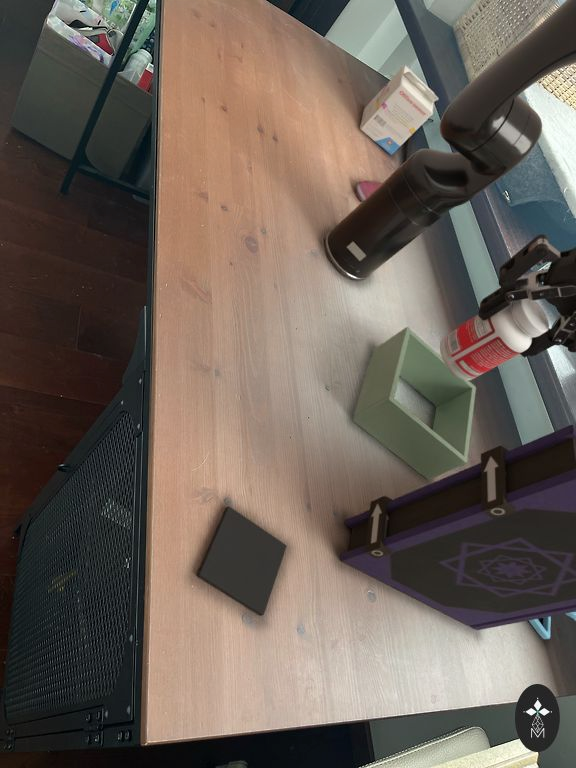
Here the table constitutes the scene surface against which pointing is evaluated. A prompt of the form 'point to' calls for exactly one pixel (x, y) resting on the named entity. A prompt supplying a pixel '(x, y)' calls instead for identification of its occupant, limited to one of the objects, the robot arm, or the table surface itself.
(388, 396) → the green open box
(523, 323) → the pill bottle
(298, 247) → the table surface
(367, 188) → the eraser
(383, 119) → the ink box
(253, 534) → the mat
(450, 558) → the book
